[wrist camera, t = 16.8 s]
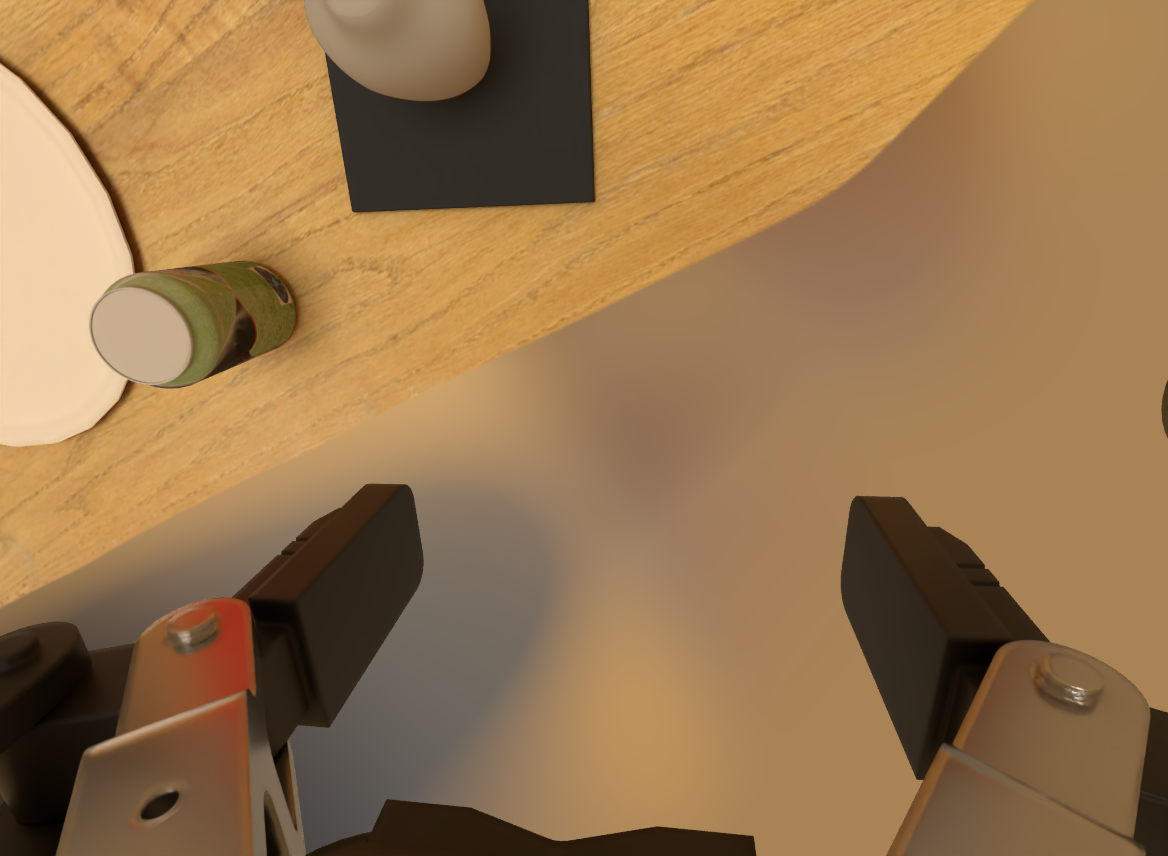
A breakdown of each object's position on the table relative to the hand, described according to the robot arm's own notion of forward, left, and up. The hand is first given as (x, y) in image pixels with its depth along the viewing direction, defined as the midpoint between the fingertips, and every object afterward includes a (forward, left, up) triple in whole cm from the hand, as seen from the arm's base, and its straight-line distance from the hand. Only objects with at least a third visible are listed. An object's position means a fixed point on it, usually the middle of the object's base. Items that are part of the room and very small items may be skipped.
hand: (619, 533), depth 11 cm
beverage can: (+26, 0, -28) cm, 38 cm away
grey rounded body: (+11, -13, -28) cm, 32 cm away
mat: (+11, -13, -28) cm, 33 cm away
